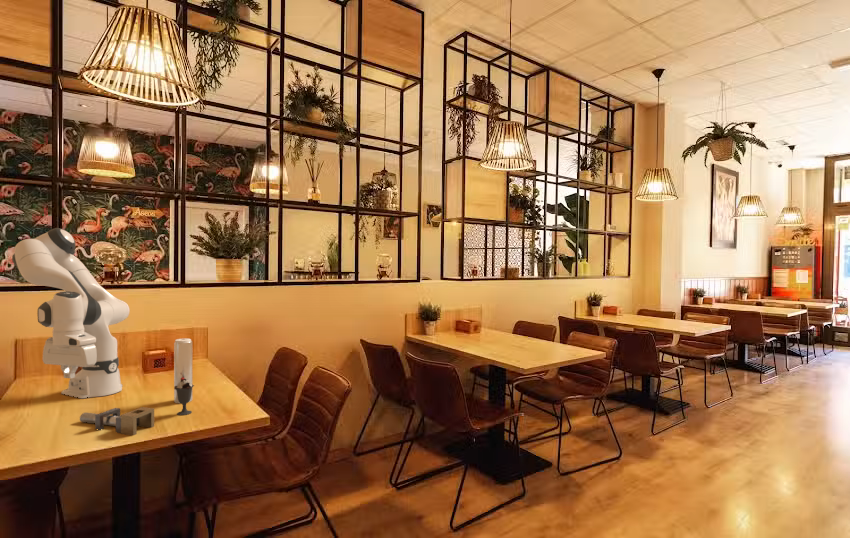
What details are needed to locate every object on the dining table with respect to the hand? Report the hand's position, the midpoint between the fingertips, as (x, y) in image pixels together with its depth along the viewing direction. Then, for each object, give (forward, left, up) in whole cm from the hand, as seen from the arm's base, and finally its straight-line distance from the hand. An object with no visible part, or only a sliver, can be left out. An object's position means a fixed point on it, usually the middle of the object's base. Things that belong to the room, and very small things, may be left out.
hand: (69, 377), depth 162 cm
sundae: (+31, +18, -16) cm, 40 cm away
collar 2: (+25, 0, -15) cm, 29 cm away
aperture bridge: (+29, 0, -15) cm, 33 cm away
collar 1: (+16, 0, -15) cm, 23 cm away
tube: (+14, 0, -15) cm, 21 cm away
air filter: (+20, +30, -16) cm, 40 cm away
